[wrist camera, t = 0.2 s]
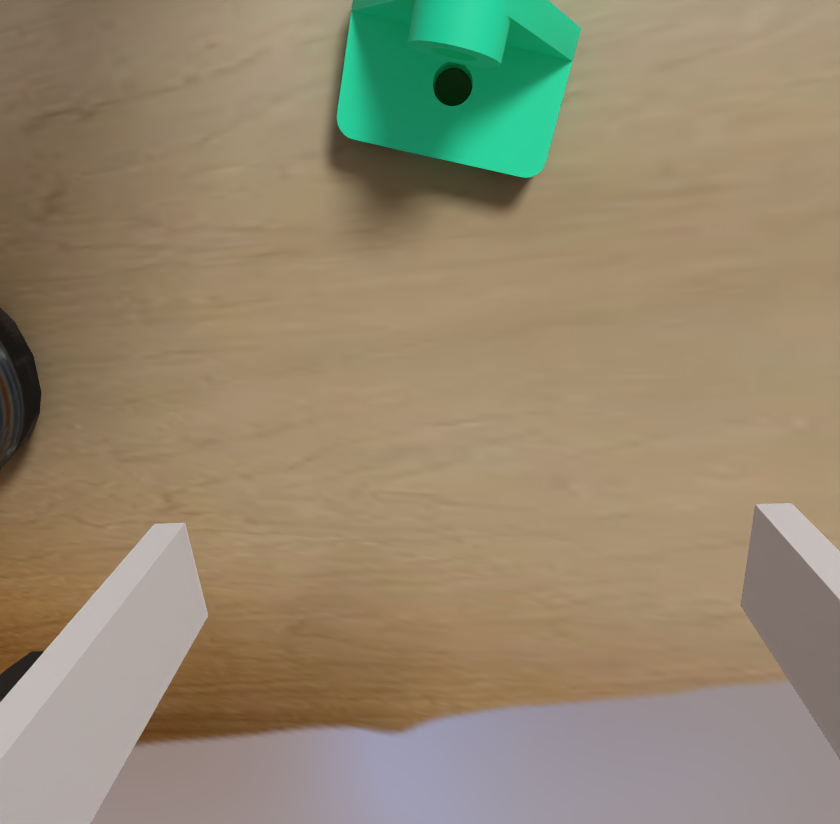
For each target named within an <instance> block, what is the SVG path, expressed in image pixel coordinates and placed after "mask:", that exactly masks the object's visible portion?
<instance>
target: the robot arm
mask: <svg viewBox="0 0 840 824" xmlns="http://www.w3.org/2000/svg"><path fill="white" fill-rule="evenodd" d="M741 607H742V608H743V610H744V611H745V613H746V614H747V616H748V618H749V619H750V621H751V622H752V624H753V625H754V627H755V628H756V630H757V632H758V633H759V635H760V636H761V638H762V639H763V641H764V642H765V644H766V645H767V647H768V649H769V650H770V652H771V653H772V655H773V656H774V658H775V659H776V661H777V663H778V664H779V666H780V667H781V669H782V670H783V672H784V673H785V675H786V677H787V678H788V680H789V681H790V683H791V684H792V686H793V687H794V689H795V690H796V692H797V694H798V695H799V697H800V698H801V699H802V701H803V703H804V704H805V706H806V708H807V709H808V711H809V712H810V714H811V715H812V717H813V718H814V720H815V721H816V723H817V725H818V726H819V728H820V729H821V731H822V732H823V734H824V735H825V737H826V738H827V740H828V742H829V743H830V745H831V746H832V748H833V749H834V751H835V752H836V754H837V756H838V757H839V759H840V551H839V550H838V549H837V548H836V547H835V546H834V545H833V544H832V543H831V542H830V541H829V540H828V539H827V538H826V537H825V536H824V535H823V534H822V533H821V532H820V531H819V530H818V529H817V528H816V527H815V526H814V525H813V524H812V523H811V522H810V521H809V520H808V519H807V518H806V517H805V516H804V515H803V514H802V513H801V512H800V511H799V510H798V509H797V508H796V507H795V506H794V505H793V504H792V503H782V504H755V510H754V517H753V524H752V531H751V537H750V544H749V551H748V558H747V565H746V572H745V579H744V586H743V593H742V600H741ZM207 617H208V613H207V609H206V605H205V601H204V597H203V593H202V589H201V585H200V581H199V577H198V573H197V569H196V565H195V561H194V557H193V552H192V548H191V544H190V540H189V536H188V532H187V528H186V524H185V523H165V524H154V525H153V526H152V527H151V528H150V530H149V531H148V532H147V533H146V534H145V535H144V537H143V538H142V539H141V540H140V541H139V542H138V544H137V545H136V546H135V547H134V548H133V549H132V550H131V552H130V553H129V554H128V555H127V556H126V557H125V559H124V560H123V561H122V562H121V563H120V564H119V566H118V567H117V568H116V569H115V570H114V571H113V572H112V574H111V575H110V576H109V577H108V578H107V579H106V581H105V582H104V583H103V584H102V585H101V586H100V588H99V589H98V590H97V591H96V592H95V593H94V594H93V596H92V597H91V598H90V599H89V600H88V601H87V603H86V604H85V605H84V606H83V607H82V608H81V609H80V611H79V612H78V613H77V614H76V615H75V616H74V618H73V619H72V620H71V621H70V622H69V623H68V625H67V626H66V627H65V628H64V629H63V630H62V631H61V633H60V634H59V635H58V636H57V637H56V638H55V640H54V641H53V642H52V643H51V644H50V645H49V647H48V648H47V649H46V650H45V651H37V652H30V653H29V654H28V655H26V656H25V657H23V658H22V659H21V660H19V661H18V662H16V663H15V664H14V665H12V666H11V667H9V668H8V669H7V670H5V671H4V672H3V673H2V674H1V675H0V824H91V822H92V820H93V819H94V816H95V815H96V813H97V811H98V810H99V808H100V806H101V804H102V802H103V801H104V799H105V797H106V796H107V794H108V792H109V790H110V788H111V787H112V785H113V783H114V781H115V780H116V778H117V776H118V774H119V772H120V771H121V769H122V767H123V765H124V764H125V762H126V760H127V758H128V757H129V755H130V753H131V751H132V750H133V748H134V746H135V744H136V742H137V741H138V739H139V737H140V735H141V734H142V732H143V730H144V728H145V727H146V725H147V723H148V721H149V719H150V718H151V716H152V714H153V712H154V711H155V709H156V707H157V705H158V704H159V702H160V700H161V698H162V696H163V695H164V693H165V691H166V689H167V688H168V686H169V684H170V682H171V681H172V679H173V677H174V675H175V673H176V672H177V670H178V668H179V666H180V665H181V663H182V661H183V659H184V658H185V656H186V654H187V652H188V650H189V649H190V647H191V645H192V643H193V642H194V640H195V638H196V636H197V635H198V633H199V631H200V629H201V627H202V626H203V624H204V622H205V620H206V619H207Z"/></svg>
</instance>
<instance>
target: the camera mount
mask: <svg viewBox="0 0 840 824" xmlns="http://www.w3.org/2000/svg"><path fill="white" fill-rule="evenodd" d="M580 31H581V28H580V27H579V26H578V25H576V24H575V23H574V22H573V21H572V20H571V19H569V18H568V17H567V16H566V15H565V14H563V13H562V12H561V11H560V10H559V9H558V8H556V7H555V6H554V5H553V4H552V3H550V2H549V1H548V0H353V3H352V10H351V18H350V25H349V32H348V39H347V46H346V53H345V61H344V68H343V75H342V82H341V89H340V96H339V103H338V111H337V123H338V126H339V128H340V130H341V132H342V133H343V134H344V135H345V136H347V137H348V138H350V139H353V140H357V141H361V142H366V143H370V144H375V145H379V146H384V147H388V148H393V149H397V150H401V151H405V152H410V153H414V154H418V155H423V156H427V157H432V158H436V159H441V160H445V161H450V162H454V163H459V164H463V165H468V166H472V167H477V168H482V169H486V170H491V171H495V172H500V173H504V174H509V175H513V176H518V177H524V178H528V177H532V176H535V175H536V174H538V173H539V172H540V171H541V170H542V169H543V167H544V165H545V163H546V160H547V156H548V152H549V148H550V144H551V141H552V137H553V133H554V129H555V125H556V122H557V118H558V114H559V110H560V106H561V103H562V99H563V95H564V91H565V88H566V84H567V80H568V76H569V72H570V69H571V65H572V61H573V57H574V53H575V50H576V46H577V42H578V38H579V35H580ZM450 68H457V69H460V70H462V71H464V72H465V73H466V74H467V75H468V76H469V78H470V80H471V84H472V91H471V94H470V96H469V97H468V98H467V100H466V101H465V102H463V103H462V104H460V105H457V106H447V105H445V104H443V103H441V102H440V101H439V100H438V99H437V97H436V96H435V92H434V88H435V83H436V80H437V78H438V77H439V75H440V74H441V73H442V72H443V71H445V70H447V69H450Z"/></svg>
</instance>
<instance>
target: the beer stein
mask: <svg viewBox="0 0 840 824" xmlns="http://www.w3.org/2000/svg"><path fill="white" fill-rule="evenodd" d="M40 399H41V390H40V385H39V380H38V376H37V371H36V366H35V361H34V357H33V354H32V352H31V351H30V349H29V347H28V345H27V343H26V342H25V340H24V338H23V336H22V334H21V333H20V331H19V329H18V327H17V325H16V324H15V322H14V321H13V320H12V319H11V318H10V317H9V316H8V315H7V314H6V313H5V312H4V311H3V310H2V309H1V308H0V468H1V467H2V466H3V465H4V464H5V463H6V462H7V461H8V460H9V459H10V458H11V456H12V455H13V454H14V453H15V452H16V451H17V450H18V448H19V447H20V446H21V445H22V444H23V443H24V442H25V441H26V440H27V439H28V438H29V437H30V435H31V433H32V430H33V428H34V425H35V423H36V420H37V418H38V415H39V413H40Z"/></svg>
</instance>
